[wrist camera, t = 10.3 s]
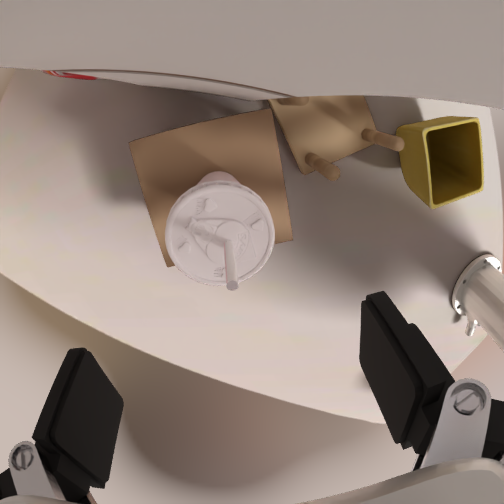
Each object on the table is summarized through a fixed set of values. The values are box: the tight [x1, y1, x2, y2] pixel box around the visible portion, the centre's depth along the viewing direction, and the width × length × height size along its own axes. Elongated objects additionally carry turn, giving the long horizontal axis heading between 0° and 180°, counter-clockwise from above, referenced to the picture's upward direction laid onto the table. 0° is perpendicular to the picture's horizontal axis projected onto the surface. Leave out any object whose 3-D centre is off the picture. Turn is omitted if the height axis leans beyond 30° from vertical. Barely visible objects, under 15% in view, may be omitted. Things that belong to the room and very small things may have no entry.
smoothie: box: [165, 171, 275, 291], centre depth 20 cm, size 6×6×14 cm
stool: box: [129, 108, 293, 267], centre depth 30 cm, size 12×12×9 cm
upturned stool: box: [267, 95, 404, 181], centre depth 28 cm, size 10×10×9 cm
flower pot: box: [396, 116, 484, 209], centre depth 31 cm, size 9×9×9 cm
